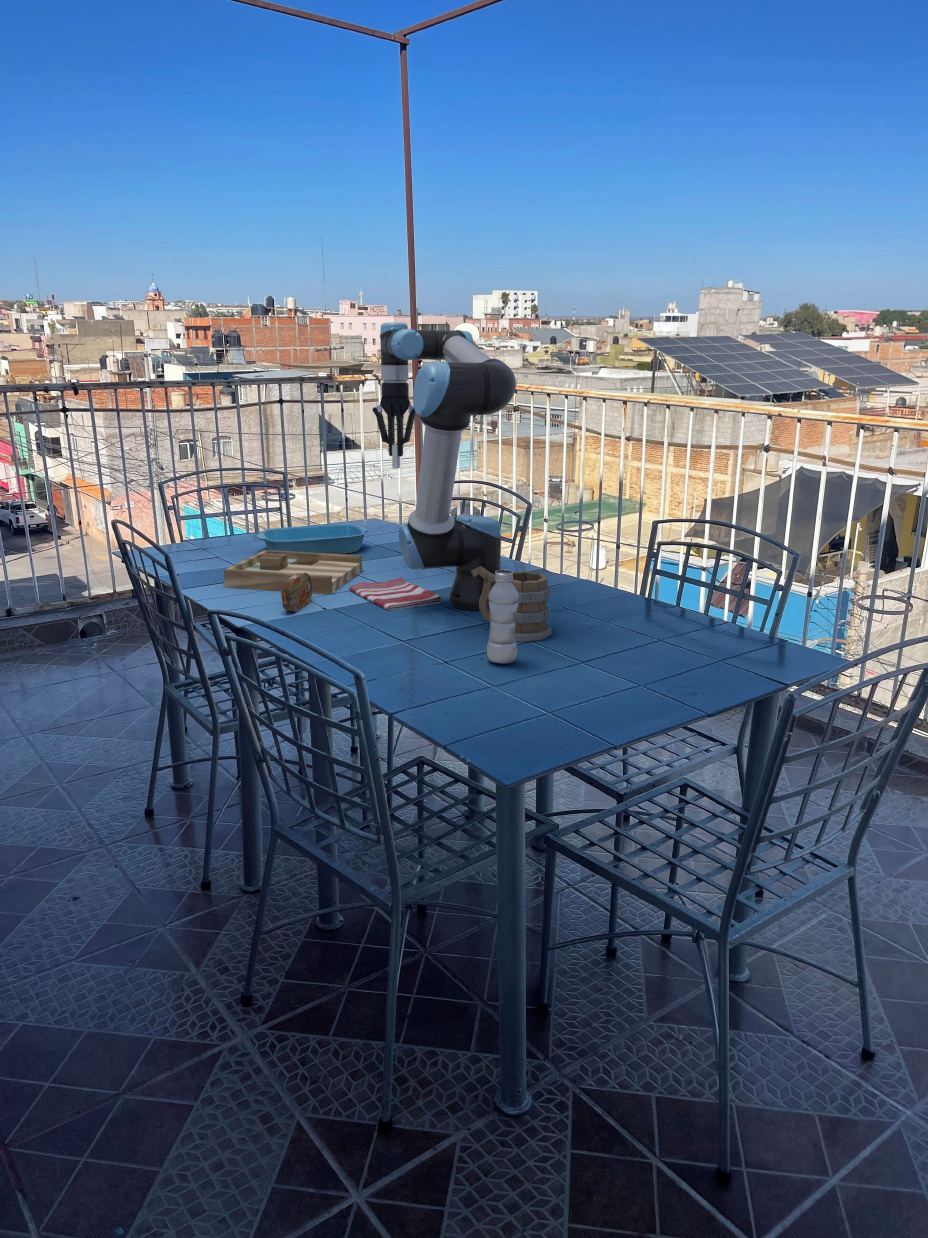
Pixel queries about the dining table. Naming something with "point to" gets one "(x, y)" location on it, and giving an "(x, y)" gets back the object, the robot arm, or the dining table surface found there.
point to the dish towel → (395, 594)
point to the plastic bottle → (502, 619)
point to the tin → (296, 592)
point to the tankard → (522, 603)
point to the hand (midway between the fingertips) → (396, 467)
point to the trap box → (295, 571)
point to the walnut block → (273, 562)
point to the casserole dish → (315, 538)
